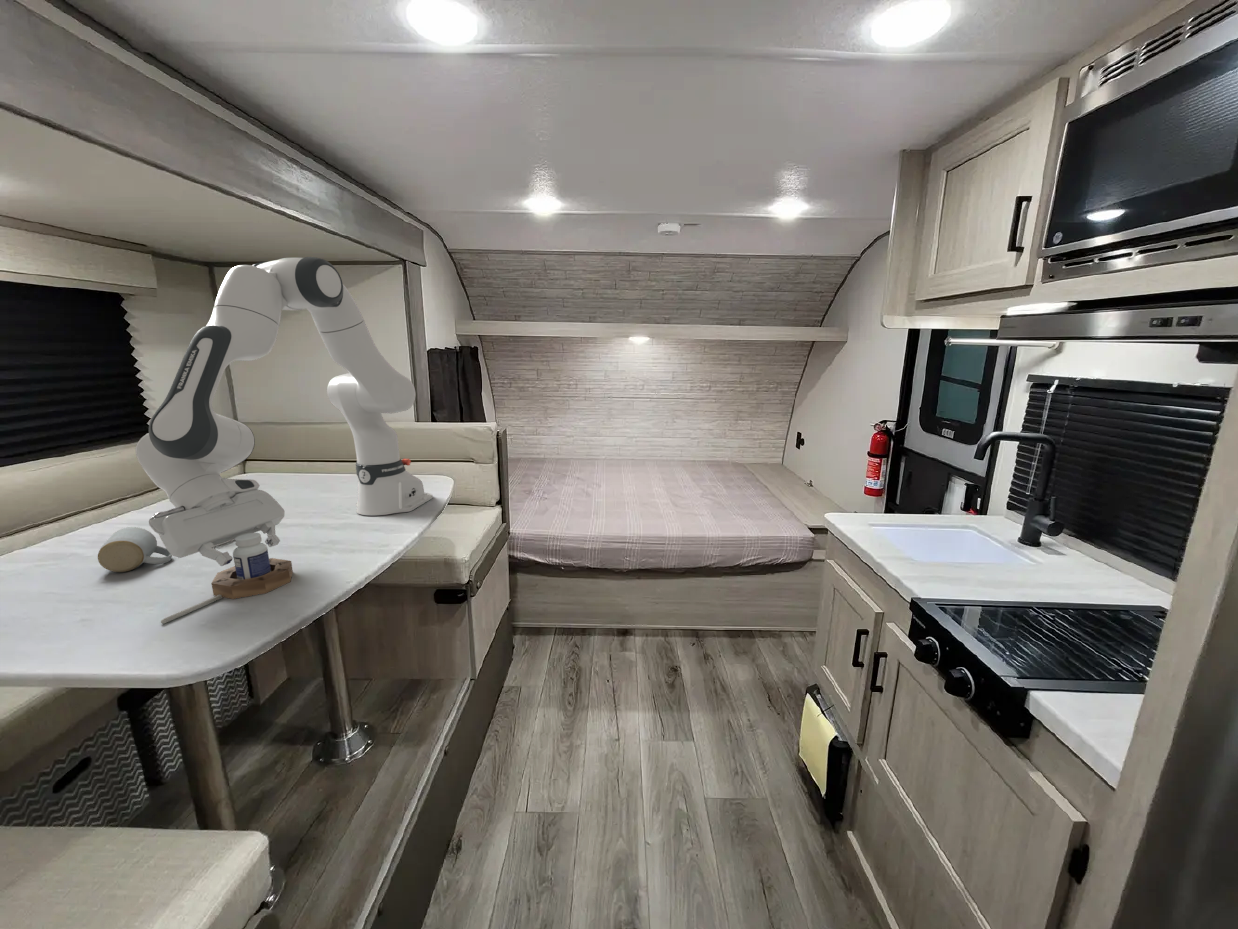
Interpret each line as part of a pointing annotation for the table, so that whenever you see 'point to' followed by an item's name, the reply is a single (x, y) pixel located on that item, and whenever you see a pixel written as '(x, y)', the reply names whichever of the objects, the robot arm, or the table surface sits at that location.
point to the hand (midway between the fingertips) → (252, 553)
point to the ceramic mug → (131, 550)
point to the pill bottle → (250, 556)
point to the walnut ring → (252, 581)
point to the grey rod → (190, 609)
